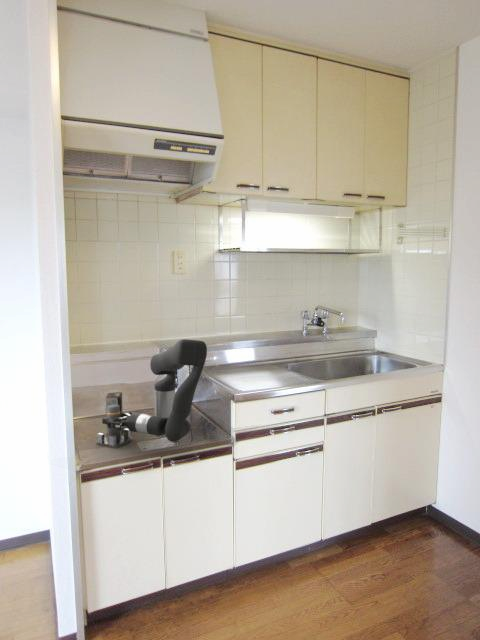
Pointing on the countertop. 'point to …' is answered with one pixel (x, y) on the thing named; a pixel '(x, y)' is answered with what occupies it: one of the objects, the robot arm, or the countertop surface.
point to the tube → (112, 414)
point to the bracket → (114, 439)
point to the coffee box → (114, 403)
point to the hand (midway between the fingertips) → (110, 417)
